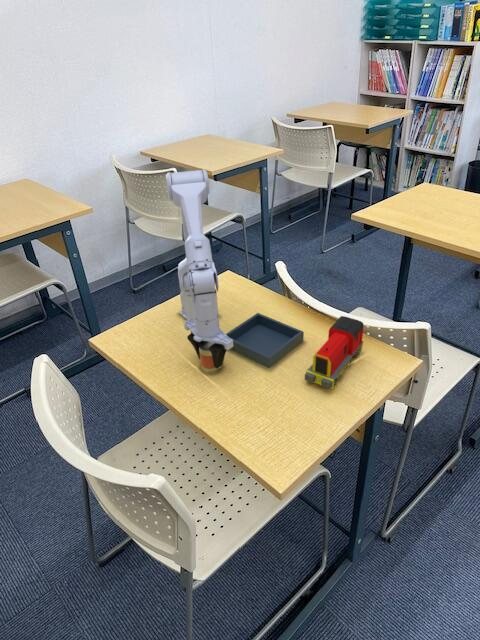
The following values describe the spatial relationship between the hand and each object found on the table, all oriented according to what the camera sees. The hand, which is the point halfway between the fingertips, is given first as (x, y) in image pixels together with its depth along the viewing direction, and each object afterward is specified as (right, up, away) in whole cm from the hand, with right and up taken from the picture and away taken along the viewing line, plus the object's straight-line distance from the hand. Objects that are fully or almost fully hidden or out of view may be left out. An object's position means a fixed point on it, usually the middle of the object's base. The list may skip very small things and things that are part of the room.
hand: (210, 361), depth 120 cm
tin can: (0, -2, +1) cm, 2 cm away
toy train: (+30, -2, -1) cm, 30 cm away
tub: (+13, +4, +8) cm, 16 cm away
